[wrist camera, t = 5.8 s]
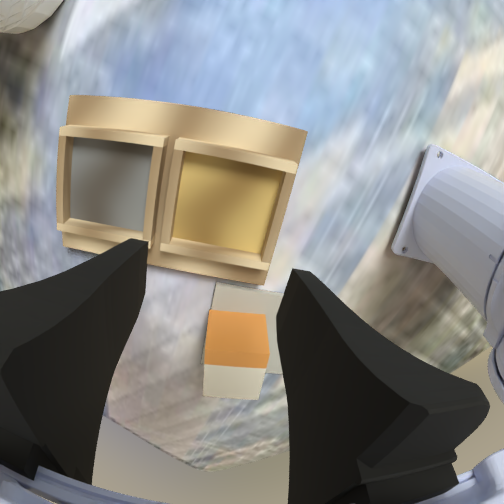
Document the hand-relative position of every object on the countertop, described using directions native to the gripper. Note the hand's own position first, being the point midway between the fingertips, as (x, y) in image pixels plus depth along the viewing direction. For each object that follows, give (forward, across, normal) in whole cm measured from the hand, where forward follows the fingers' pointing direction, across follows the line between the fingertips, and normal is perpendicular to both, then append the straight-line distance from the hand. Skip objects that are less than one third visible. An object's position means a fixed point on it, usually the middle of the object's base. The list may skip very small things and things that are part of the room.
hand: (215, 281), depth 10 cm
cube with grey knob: (+7, -2, +8) cm, 11 cm away
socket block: (+9, +4, 0) cm, 10 cm away
